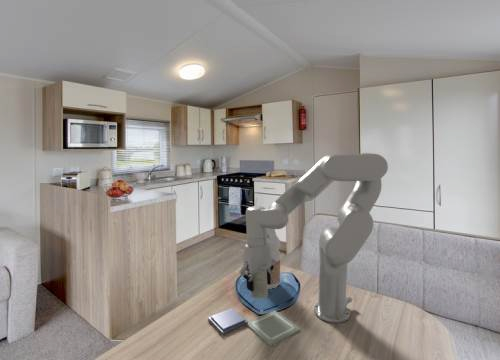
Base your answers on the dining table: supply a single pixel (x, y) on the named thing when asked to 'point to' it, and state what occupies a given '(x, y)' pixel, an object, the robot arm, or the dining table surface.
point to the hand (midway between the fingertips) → (259, 286)
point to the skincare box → (260, 284)
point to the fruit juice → (274, 257)
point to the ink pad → (227, 321)
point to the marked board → (272, 327)
